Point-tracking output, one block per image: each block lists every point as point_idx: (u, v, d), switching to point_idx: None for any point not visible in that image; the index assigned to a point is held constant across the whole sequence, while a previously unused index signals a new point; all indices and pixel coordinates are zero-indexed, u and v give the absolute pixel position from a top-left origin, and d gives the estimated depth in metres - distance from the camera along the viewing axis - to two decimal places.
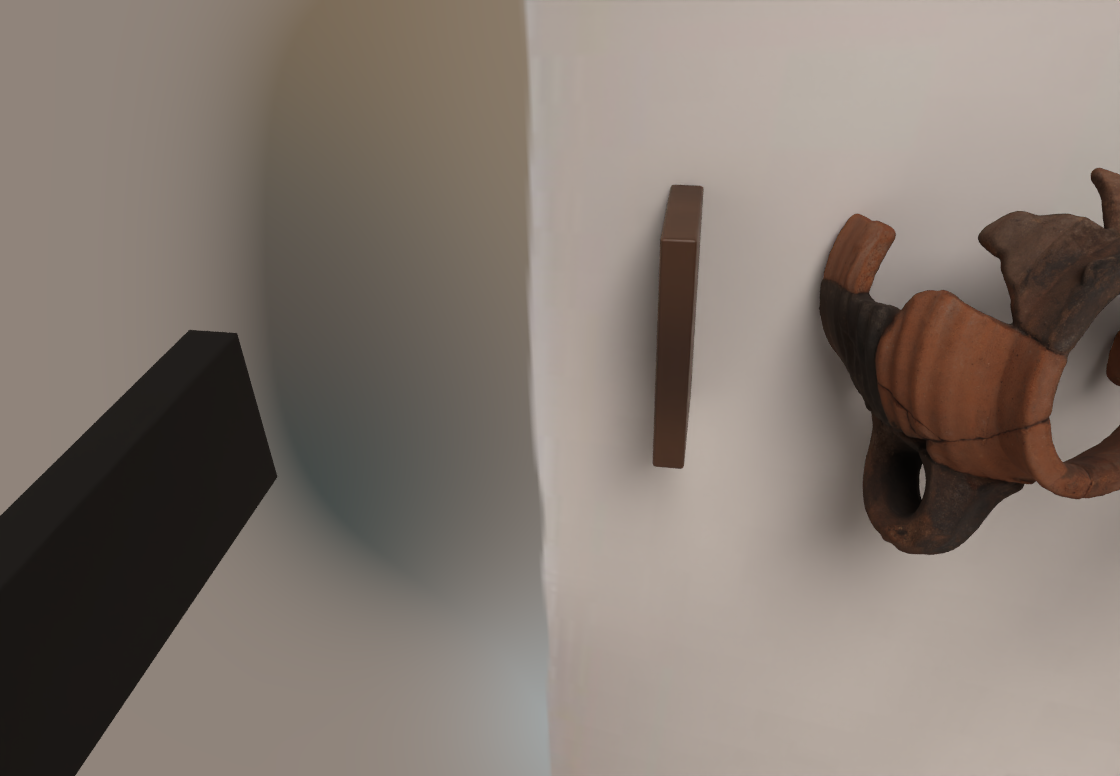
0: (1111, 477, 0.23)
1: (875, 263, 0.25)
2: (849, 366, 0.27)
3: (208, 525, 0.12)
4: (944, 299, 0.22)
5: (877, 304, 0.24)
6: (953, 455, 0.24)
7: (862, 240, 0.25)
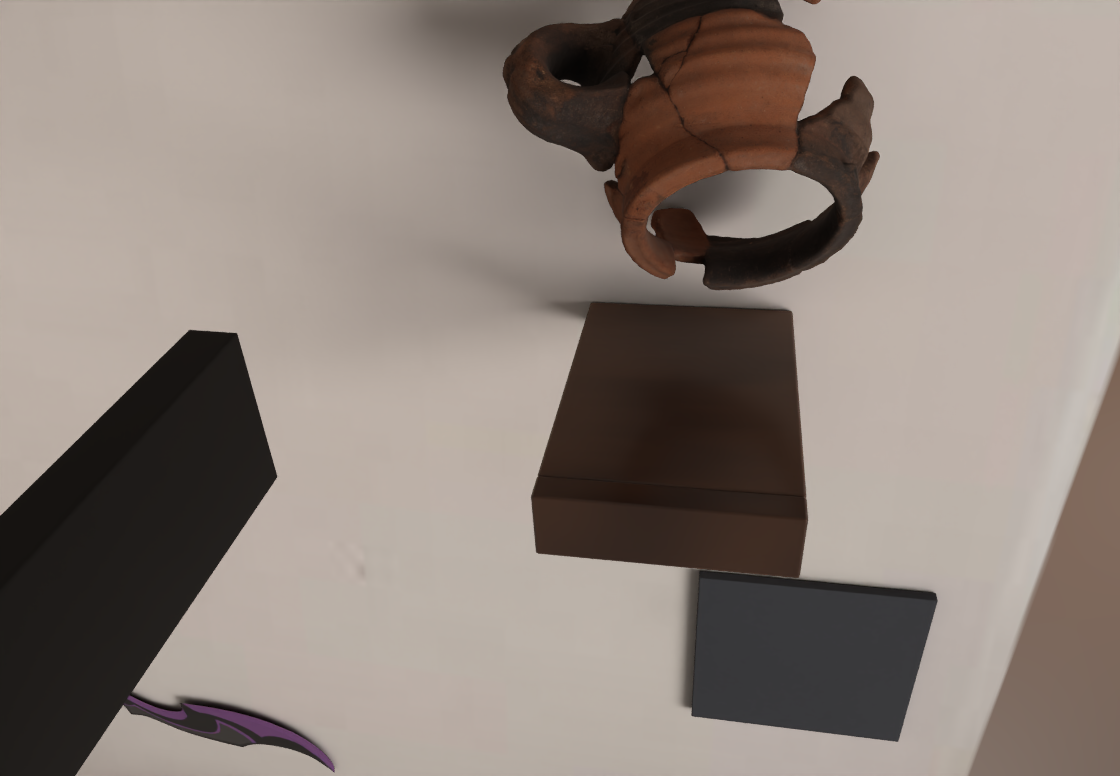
0: (642, 233, 0.27)
1: None
2: None
3: (208, 525, 0.12)
4: (811, 59, 0.24)
5: None
6: (649, 102, 0.25)
7: None
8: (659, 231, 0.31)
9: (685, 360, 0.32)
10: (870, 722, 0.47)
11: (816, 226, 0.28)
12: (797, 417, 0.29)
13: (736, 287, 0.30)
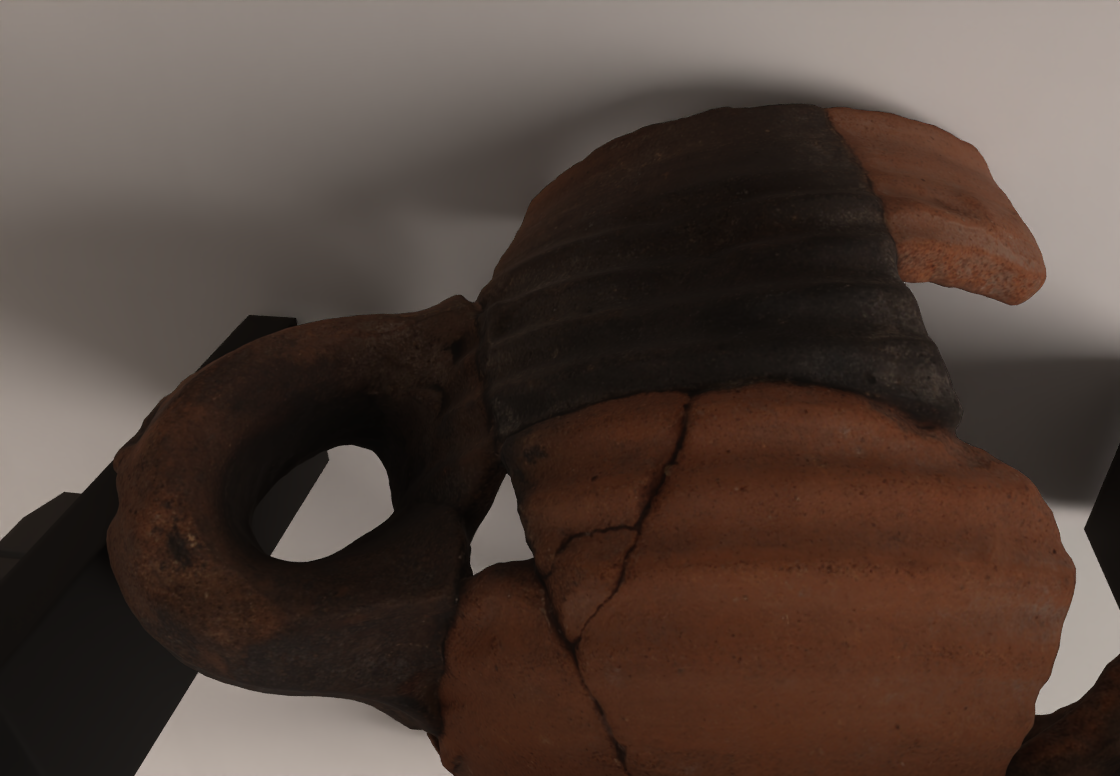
0: None
1: (964, 276, 0.09)
2: (612, 242, 0.09)
3: (269, 504, 0.13)
4: (1066, 588, 0.07)
5: (936, 350, 0.08)
6: (518, 666, 0.08)
7: (1001, 218, 0.09)
8: None
9: None
10: None
11: None
12: None
13: None
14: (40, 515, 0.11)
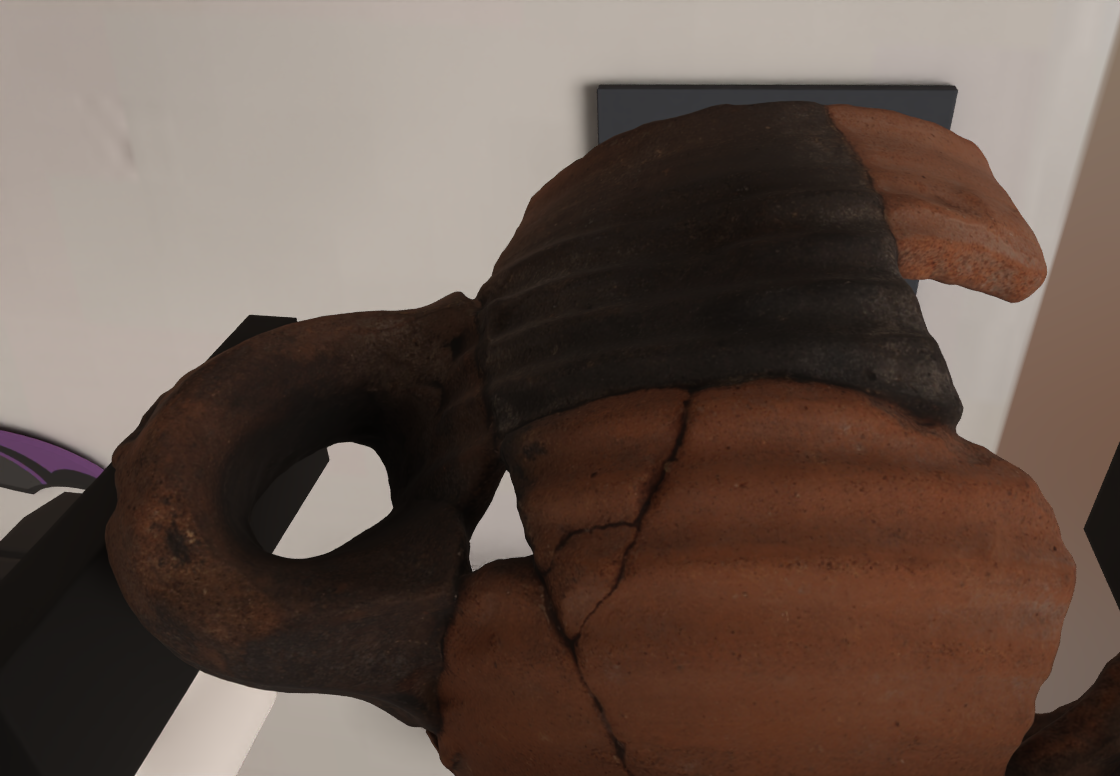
0: None
1: (964, 273, 0.09)
2: (612, 238, 0.09)
3: (270, 504, 0.13)
4: (1065, 586, 0.07)
5: (937, 346, 0.08)
6: (517, 663, 0.08)
7: (1002, 215, 0.09)
8: None
9: None
10: None
11: None
12: None
13: None
14: (40, 514, 0.11)
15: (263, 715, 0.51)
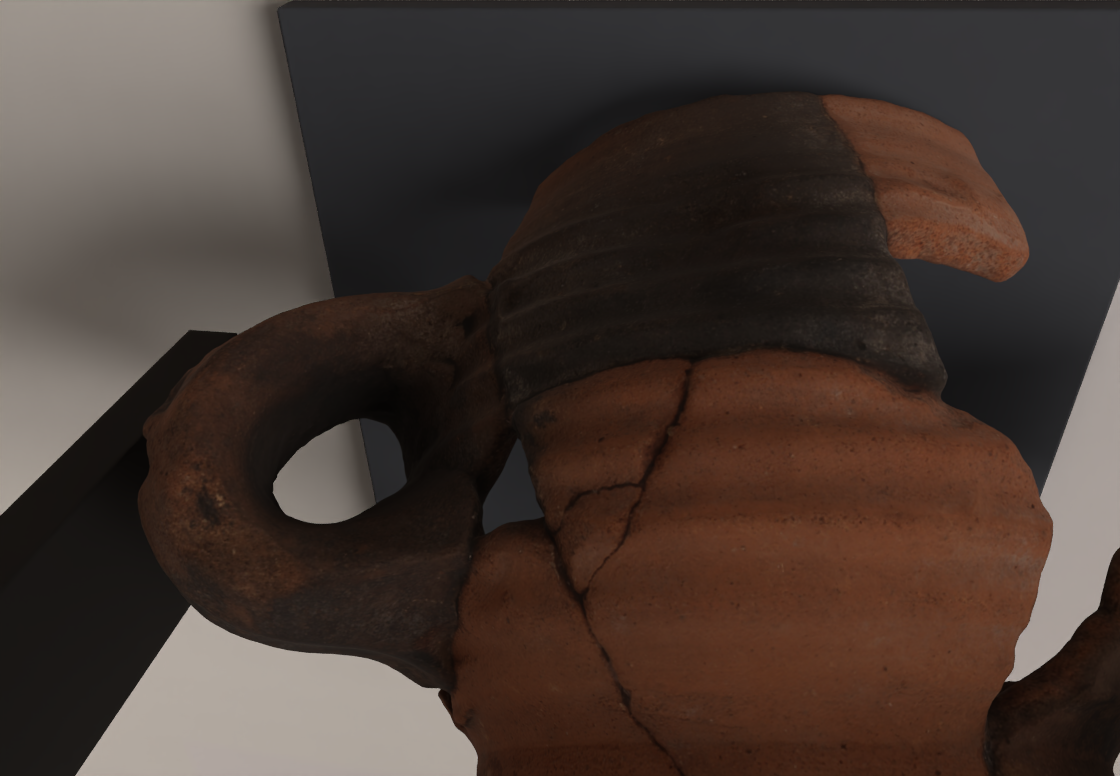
0: None
1: (950, 253, 0.09)
2: (617, 221, 0.10)
3: None
4: (1043, 540, 0.07)
5: (923, 319, 0.08)
6: (529, 618, 0.08)
7: (986, 199, 0.09)
8: None
9: None
10: None
11: None
12: None
13: None
14: None
15: None
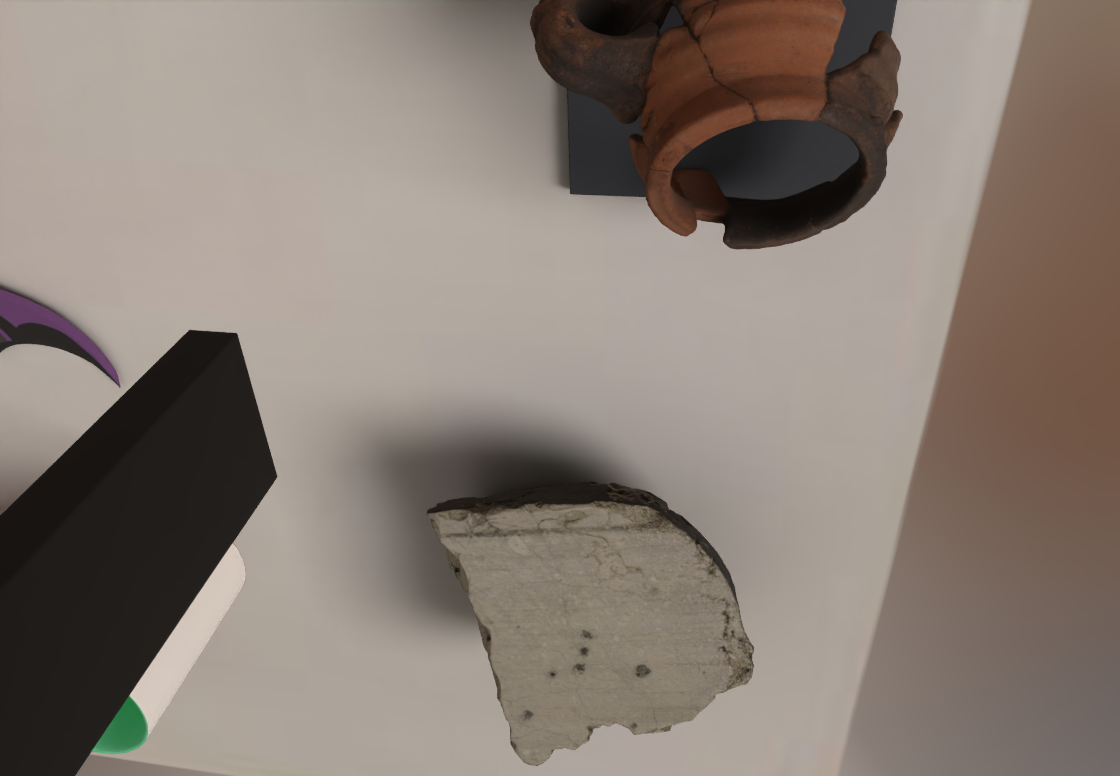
0: (667, 186, 0.27)
1: None
2: None
3: (208, 525, 0.12)
4: (841, 11, 0.24)
5: None
6: (678, 52, 0.25)
7: None
8: (679, 191, 0.32)
9: None
10: (822, 167, 0.32)
11: (838, 184, 0.28)
12: None
13: (756, 246, 0.30)
14: None
15: (231, 593, 0.50)
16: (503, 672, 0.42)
